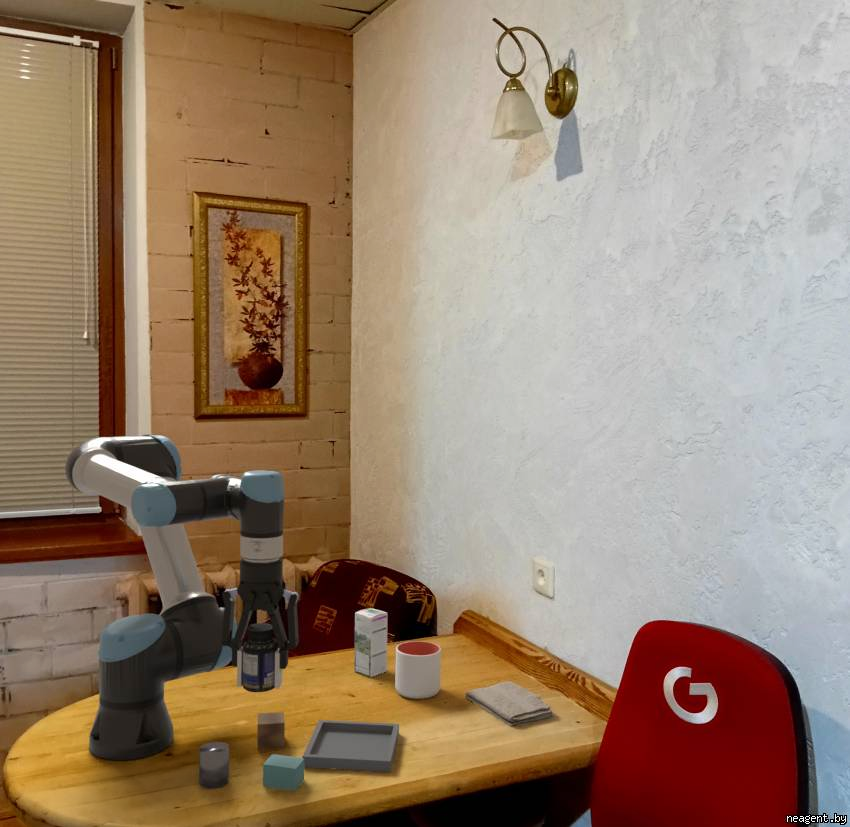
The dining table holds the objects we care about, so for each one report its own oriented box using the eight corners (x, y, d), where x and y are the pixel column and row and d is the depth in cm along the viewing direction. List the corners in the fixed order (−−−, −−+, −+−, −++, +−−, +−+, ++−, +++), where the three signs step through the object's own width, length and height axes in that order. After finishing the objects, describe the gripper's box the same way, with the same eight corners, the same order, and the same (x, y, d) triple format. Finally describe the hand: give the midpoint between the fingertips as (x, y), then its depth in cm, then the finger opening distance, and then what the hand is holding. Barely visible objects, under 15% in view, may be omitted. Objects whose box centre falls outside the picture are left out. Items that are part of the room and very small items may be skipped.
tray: (302, 767, 155) (302, 756, 155) (318, 729, 171) (319, 719, 171) (390, 772, 154) (390, 761, 154) (399, 733, 170) (399, 723, 170)
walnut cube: (257, 750, 162) (257, 724, 162) (257, 738, 167) (257, 713, 167) (284, 748, 163) (284, 722, 163) (283, 737, 168) (283, 712, 168)
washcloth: (512, 731, 174) (512, 716, 174) (462, 700, 189) (462, 686, 189) (557, 719, 180) (558, 705, 180) (506, 690, 196) (506, 677, 195)
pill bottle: (274, 679, 159) (275, 620, 158) (279, 691, 153) (280, 630, 153) (240, 682, 157) (241, 623, 156) (244, 695, 151) (245, 633, 151)
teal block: (262, 786, 148) (263, 764, 148) (272, 776, 152) (272, 754, 152) (295, 791, 147) (295, 768, 147) (304, 780, 151) (304, 758, 151)
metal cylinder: (195, 788, 147) (195, 753, 147) (204, 774, 152) (204, 741, 152) (223, 789, 147) (224, 755, 146) (232, 775, 152) (232, 742, 151)
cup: (435, 703, 186) (436, 657, 186) (390, 698, 188) (391, 653, 188) (443, 686, 196) (444, 643, 195) (400, 682, 198) (401, 639, 197)
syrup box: (387, 671, 204) (389, 611, 203) (370, 678, 200) (371, 616, 199) (370, 665, 208) (371, 606, 207) (352, 672, 204) (354, 611, 203)
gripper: (202, 560, 151) (200, 690, 152) (310, 565, 149) (307, 695, 151) (215, 551, 158) (214, 674, 160) (318, 555, 157) (316, 679, 158)
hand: (259, 684), depth 155 cm, fingers closed on pill bottle, 6 cm apart
